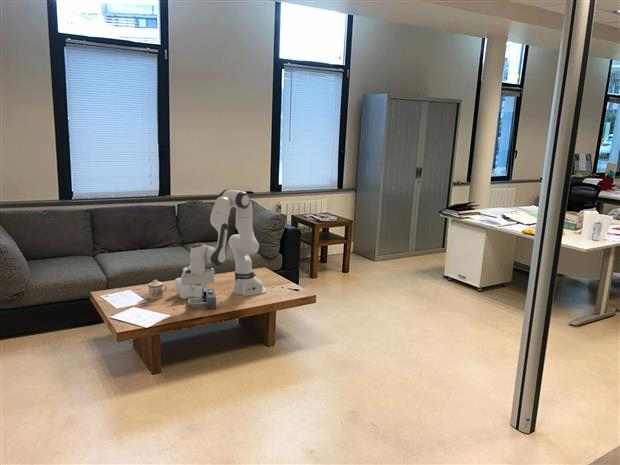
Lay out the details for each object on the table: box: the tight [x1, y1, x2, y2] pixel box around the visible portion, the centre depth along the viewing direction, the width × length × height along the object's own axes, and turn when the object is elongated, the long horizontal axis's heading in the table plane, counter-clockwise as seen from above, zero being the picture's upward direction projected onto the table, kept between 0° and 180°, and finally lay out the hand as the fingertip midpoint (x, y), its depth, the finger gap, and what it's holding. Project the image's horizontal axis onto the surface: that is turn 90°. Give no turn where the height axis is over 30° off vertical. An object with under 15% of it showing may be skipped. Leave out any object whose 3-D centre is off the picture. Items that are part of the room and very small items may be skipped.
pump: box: [193, 284, 204, 298], centre depth 303 cm, size 5×5×9 cm
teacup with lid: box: [147, 279, 167, 300], centre depth 318 cm, size 12×9×12 cm
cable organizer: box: [174, 277, 195, 300], centre depth 322 cm, size 15×11×12 cm
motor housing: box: [187, 288, 217, 311], centre depth 306 cm, size 16×16×9 cm
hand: (197, 290), depth 303 cm, fingers closed on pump, 5 cm apart
